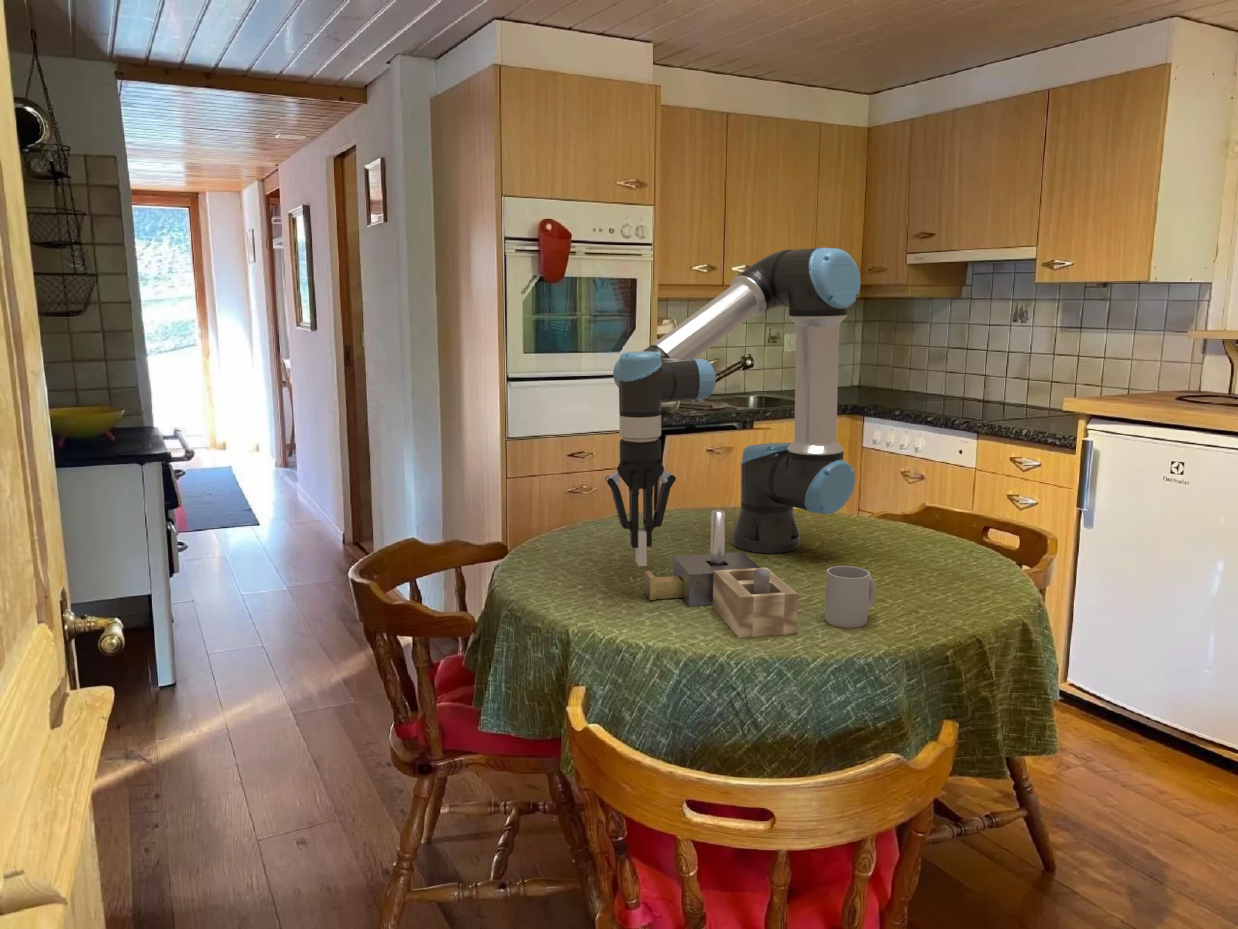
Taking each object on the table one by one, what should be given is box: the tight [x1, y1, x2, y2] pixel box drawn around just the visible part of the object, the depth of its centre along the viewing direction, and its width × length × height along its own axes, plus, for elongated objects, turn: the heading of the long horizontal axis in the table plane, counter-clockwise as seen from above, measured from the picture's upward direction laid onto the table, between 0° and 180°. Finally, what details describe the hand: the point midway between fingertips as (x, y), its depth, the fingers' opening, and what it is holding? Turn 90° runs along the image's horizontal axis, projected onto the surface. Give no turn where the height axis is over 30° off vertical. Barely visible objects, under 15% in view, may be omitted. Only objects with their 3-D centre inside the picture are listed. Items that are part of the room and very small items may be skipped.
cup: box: [824, 565, 877, 629], centre depth 160 cm, size 7×10×9 cm
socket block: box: [672, 552, 761, 607], centre depth 174 cm, size 14×12×6 cm
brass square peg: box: [644, 570, 683, 601], centre depth 173 cm, size 10×4×4 cm, turn 101°
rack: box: [712, 567, 799, 639], centre depth 160 cm, size 10×15×10 cm, turn 11°
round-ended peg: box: [710, 509, 726, 566], centre depth 173 cm, size 3×3×16 cm
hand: (641, 563), depth 171 cm, fingers closed
